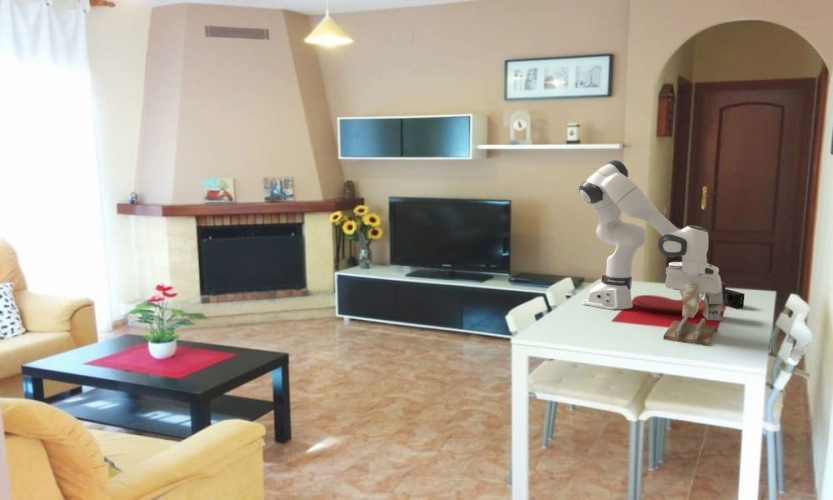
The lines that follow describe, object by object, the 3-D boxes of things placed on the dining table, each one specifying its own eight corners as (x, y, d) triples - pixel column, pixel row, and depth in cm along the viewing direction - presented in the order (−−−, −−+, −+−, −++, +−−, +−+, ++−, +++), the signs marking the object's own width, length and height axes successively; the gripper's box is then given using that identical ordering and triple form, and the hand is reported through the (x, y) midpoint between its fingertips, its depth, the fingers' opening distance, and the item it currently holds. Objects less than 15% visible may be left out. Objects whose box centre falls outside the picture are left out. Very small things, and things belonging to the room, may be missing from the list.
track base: (663, 339, 257) (664, 329, 257) (673, 324, 278) (674, 314, 277) (708, 345, 250) (708, 335, 249) (715, 329, 270) (716, 320, 269)
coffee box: (723, 321, 283) (726, 284, 280) (707, 320, 284) (710, 283, 281) (718, 315, 292) (721, 279, 289) (702, 314, 293) (705, 278, 290)
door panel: (682, 316, 257) (684, 286, 255) (687, 308, 269) (690, 279, 267) (693, 317, 255) (695, 287, 253) (698, 309, 267) (700, 280, 265)
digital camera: (716, 304, 312) (717, 289, 310) (725, 303, 314) (726, 288, 312) (734, 309, 302) (735, 294, 301) (743, 308, 304) (744, 293, 303)
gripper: (664, 265, 261) (662, 299, 264) (721, 271, 251) (718, 306, 254) (667, 263, 267) (665, 296, 269) (723, 268, 257) (720, 303, 259)
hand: (691, 301), depth 261 cm, fingers closed on door panel, 4 cm apart
